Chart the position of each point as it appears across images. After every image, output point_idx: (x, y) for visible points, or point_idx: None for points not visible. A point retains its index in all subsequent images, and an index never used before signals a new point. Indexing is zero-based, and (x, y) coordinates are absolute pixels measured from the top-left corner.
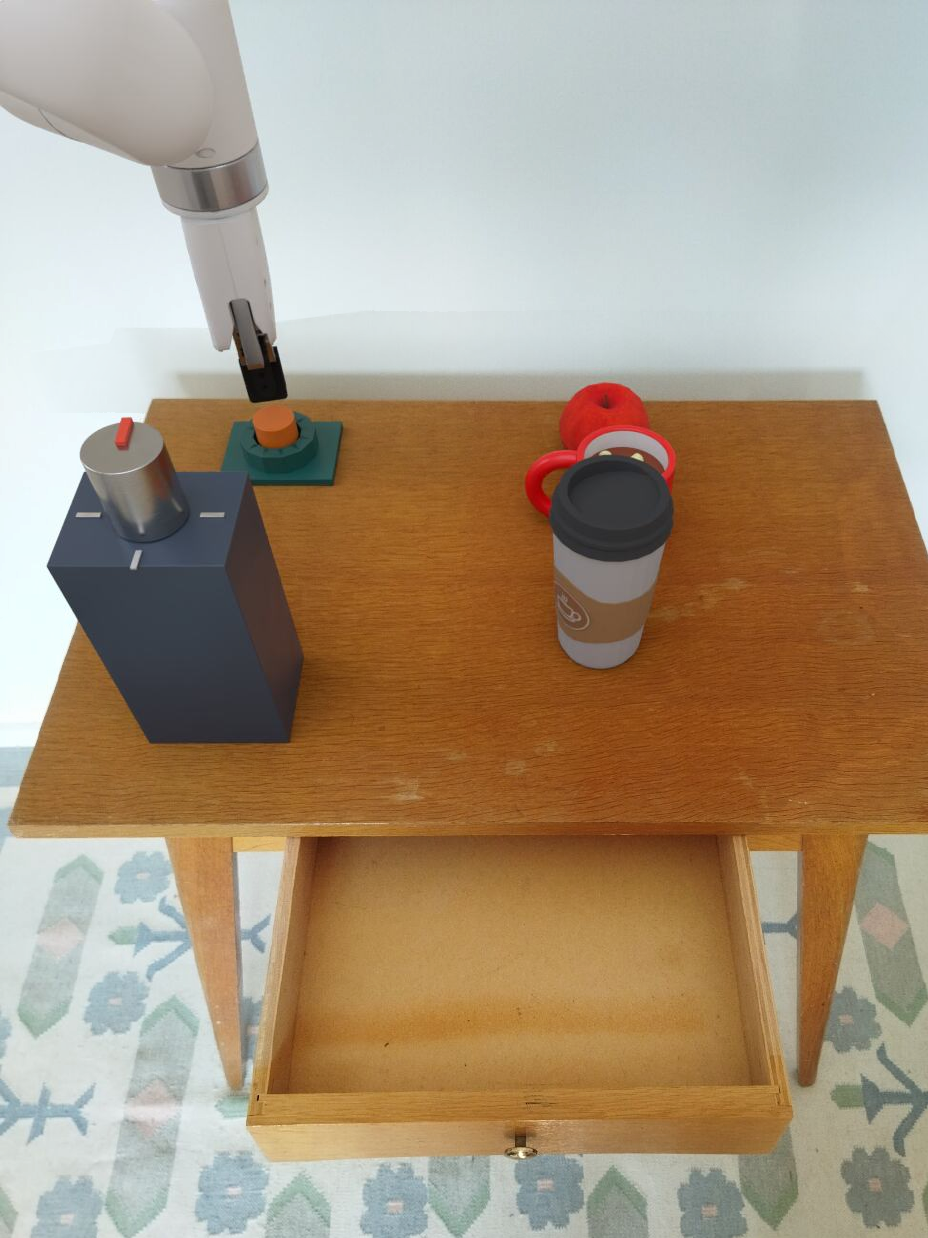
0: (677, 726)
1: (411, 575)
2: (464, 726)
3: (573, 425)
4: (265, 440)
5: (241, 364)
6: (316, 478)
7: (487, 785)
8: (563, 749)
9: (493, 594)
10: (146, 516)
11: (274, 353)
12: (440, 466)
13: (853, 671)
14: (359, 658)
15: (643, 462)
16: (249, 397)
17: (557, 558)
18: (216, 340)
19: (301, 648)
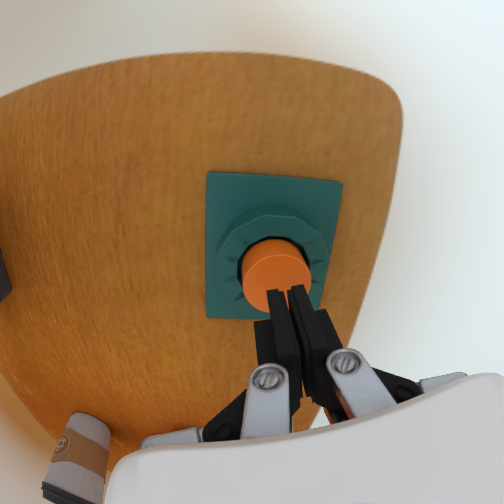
0: (62, 426)
1: (100, 363)
2: (18, 365)
3: None
4: (245, 263)
5: (249, 376)
6: (207, 302)
7: (2, 365)
8: (31, 394)
9: (102, 398)
10: None
11: (307, 396)
12: (237, 387)
13: (113, 464)
14: (25, 324)
15: None
16: (267, 296)
17: (53, 469)
18: (106, 494)
19: (6, 295)
